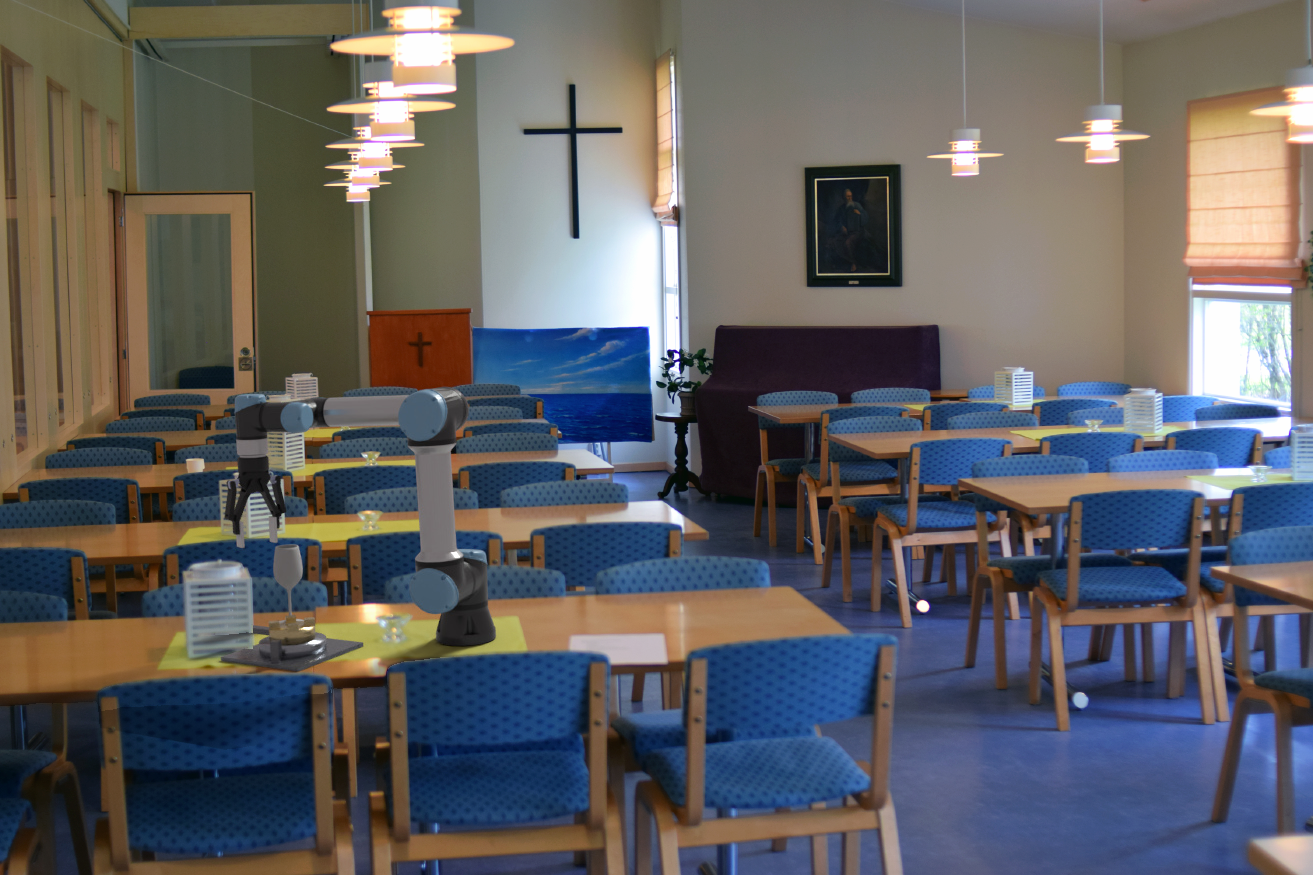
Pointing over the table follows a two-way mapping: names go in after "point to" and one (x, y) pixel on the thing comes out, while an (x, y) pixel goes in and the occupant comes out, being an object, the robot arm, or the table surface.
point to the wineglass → (288, 569)
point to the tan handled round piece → (289, 630)
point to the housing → (292, 653)
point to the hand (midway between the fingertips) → (257, 544)
